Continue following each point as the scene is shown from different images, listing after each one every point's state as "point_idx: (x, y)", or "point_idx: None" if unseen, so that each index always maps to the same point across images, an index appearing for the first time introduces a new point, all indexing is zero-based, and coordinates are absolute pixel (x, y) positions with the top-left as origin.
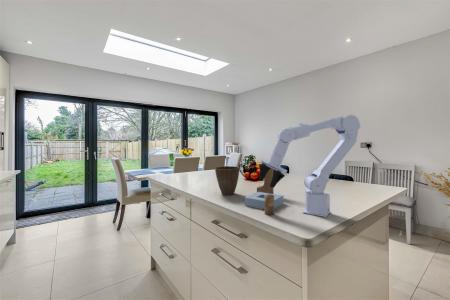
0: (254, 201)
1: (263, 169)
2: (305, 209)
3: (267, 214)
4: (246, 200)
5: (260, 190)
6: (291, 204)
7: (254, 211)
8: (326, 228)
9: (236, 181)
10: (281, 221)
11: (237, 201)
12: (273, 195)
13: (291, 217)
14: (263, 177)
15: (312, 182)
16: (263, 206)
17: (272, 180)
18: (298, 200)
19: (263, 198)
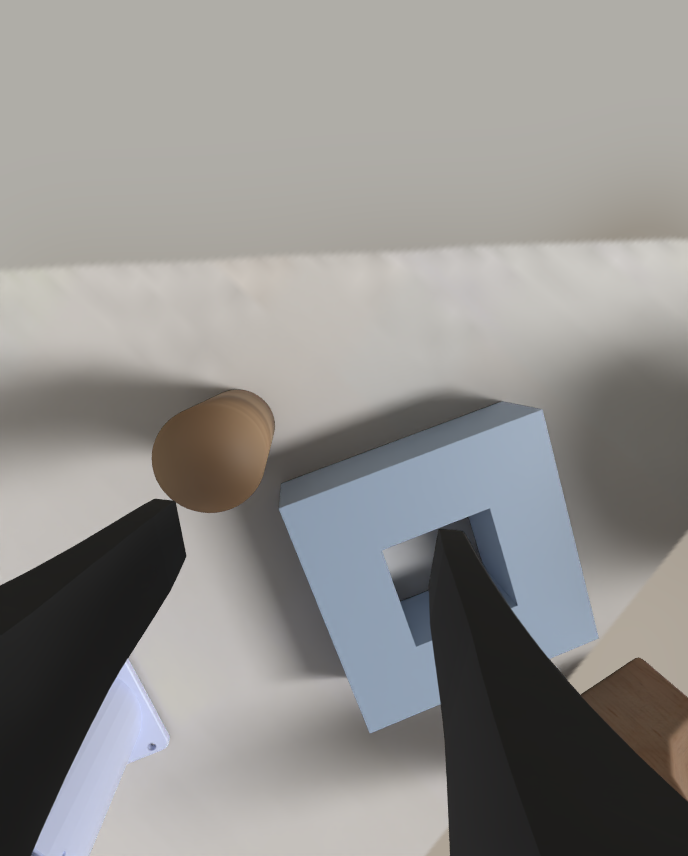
0: (434, 442)
1: (486, 781)
2: (137, 693)
3: (223, 392)
4: (509, 412)
5: (648, 707)
6: (306, 708)
7: (347, 369)
8: None
9: None
10: (65, 383)
11: (618, 421)
12: (179, 496)
13: (90, 503)
14: (436, 633)
15: None
16: (346, 466)
17: (67, 561)
18: (344, 814)
19: (406, 528)
